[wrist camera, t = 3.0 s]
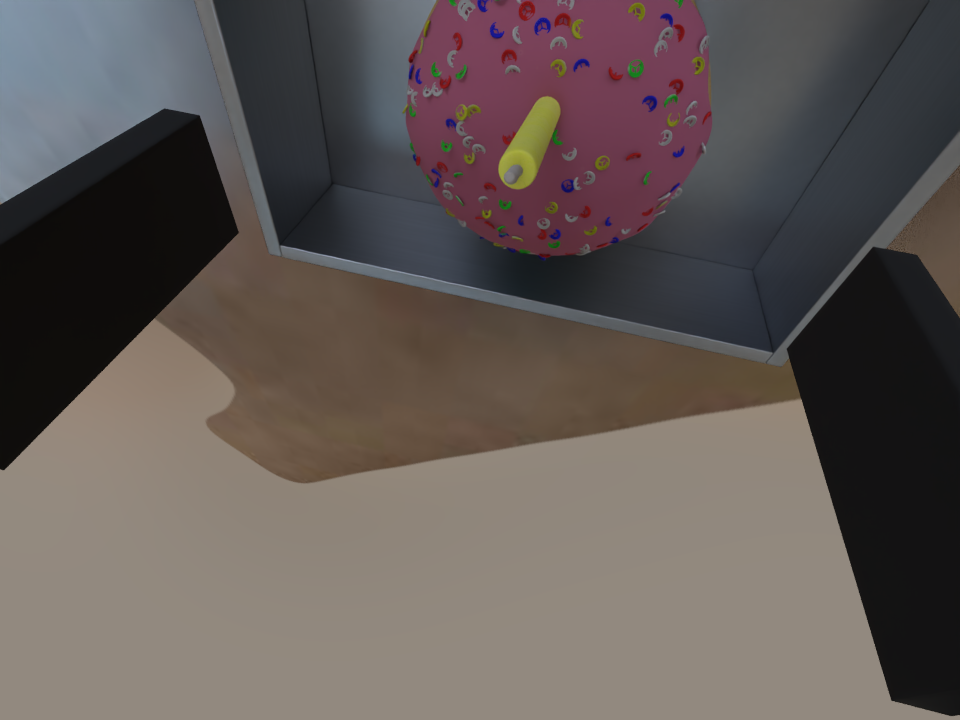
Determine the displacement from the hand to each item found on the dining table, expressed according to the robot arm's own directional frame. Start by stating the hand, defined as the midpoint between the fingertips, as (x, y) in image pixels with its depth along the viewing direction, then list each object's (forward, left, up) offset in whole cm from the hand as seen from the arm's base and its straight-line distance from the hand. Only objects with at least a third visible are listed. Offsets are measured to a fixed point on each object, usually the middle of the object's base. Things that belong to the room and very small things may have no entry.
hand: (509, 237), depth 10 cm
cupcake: (0, 0, -10) cm, 10 cm away
